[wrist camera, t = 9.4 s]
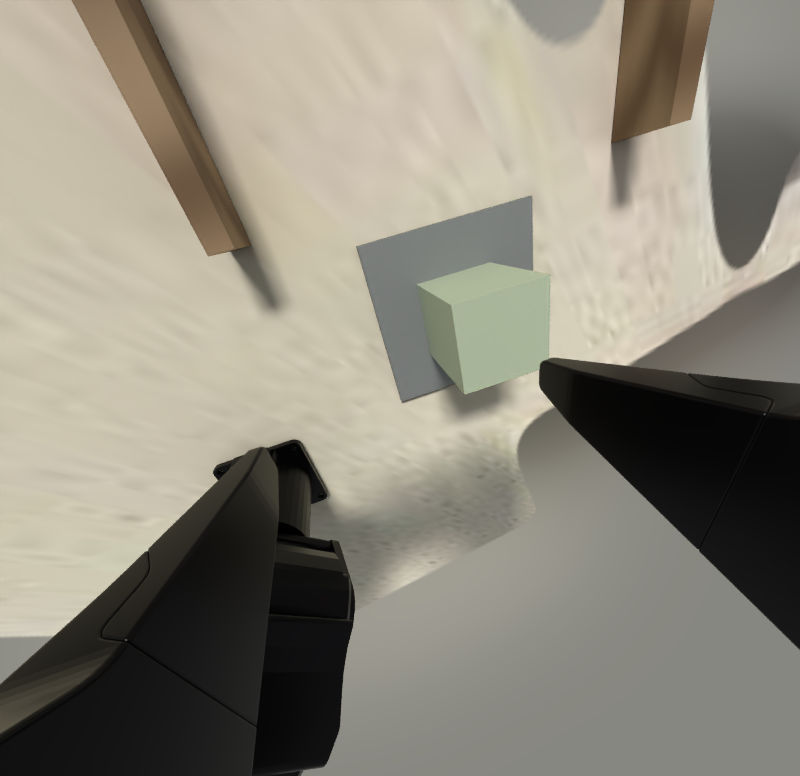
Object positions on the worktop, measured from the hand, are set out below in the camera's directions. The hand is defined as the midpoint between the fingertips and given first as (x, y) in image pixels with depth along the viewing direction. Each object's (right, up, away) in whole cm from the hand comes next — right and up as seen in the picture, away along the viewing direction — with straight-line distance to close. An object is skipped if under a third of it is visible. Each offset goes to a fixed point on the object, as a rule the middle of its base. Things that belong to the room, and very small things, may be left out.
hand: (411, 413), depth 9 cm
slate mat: (+4, +6, +11) cm, 13 cm away
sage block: (+4, +6, +11) cm, 13 cm away
